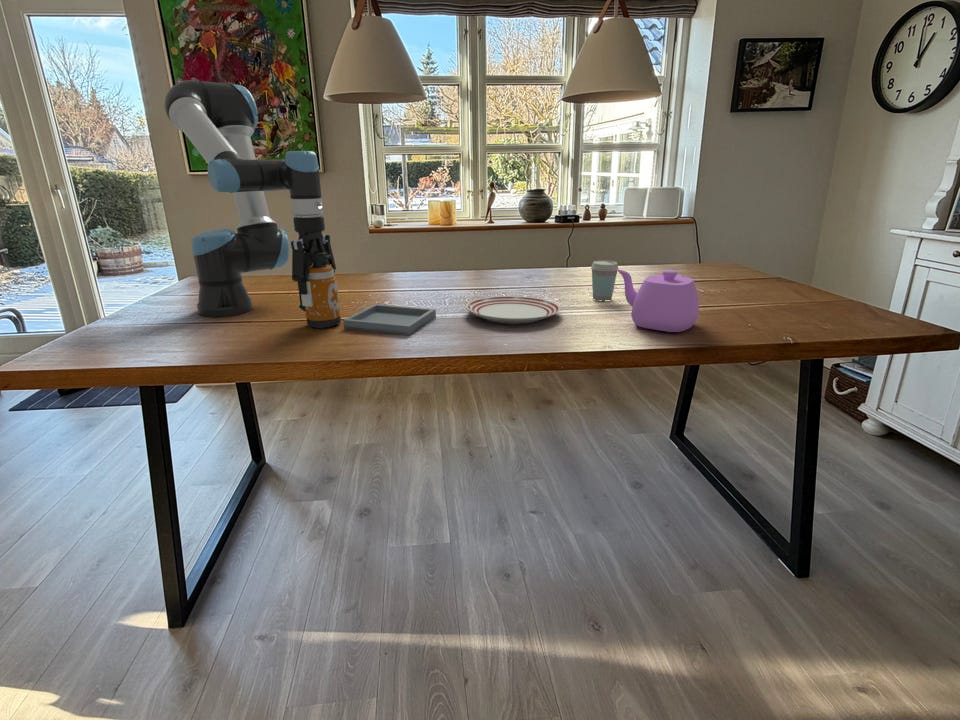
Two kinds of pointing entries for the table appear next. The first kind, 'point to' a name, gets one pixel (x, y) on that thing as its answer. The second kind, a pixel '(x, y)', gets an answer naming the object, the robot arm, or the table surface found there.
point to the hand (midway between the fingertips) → (318, 301)
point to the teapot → (663, 301)
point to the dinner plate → (512, 309)
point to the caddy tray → (390, 319)
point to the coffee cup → (603, 279)
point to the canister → (322, 293)
